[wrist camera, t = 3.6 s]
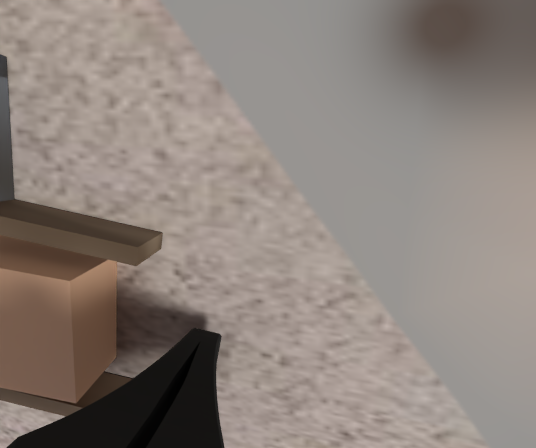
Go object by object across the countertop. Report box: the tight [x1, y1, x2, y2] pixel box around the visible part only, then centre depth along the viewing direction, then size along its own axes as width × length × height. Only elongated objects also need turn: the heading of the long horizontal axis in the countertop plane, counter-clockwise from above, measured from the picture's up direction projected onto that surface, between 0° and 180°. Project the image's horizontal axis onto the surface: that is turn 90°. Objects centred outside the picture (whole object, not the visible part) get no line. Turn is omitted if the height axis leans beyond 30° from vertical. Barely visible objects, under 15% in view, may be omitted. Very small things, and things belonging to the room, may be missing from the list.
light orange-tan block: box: [0, 235, 117, 403], centre depth 12 cm, size 6×6×3 cm
